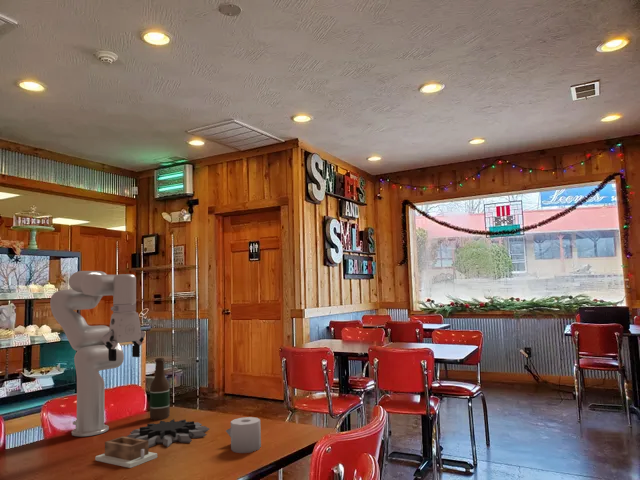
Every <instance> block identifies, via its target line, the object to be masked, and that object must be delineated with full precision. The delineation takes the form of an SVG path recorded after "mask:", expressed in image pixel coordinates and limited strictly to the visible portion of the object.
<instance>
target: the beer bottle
mask: <svg viewBox="0 0 640 480" xmlns="http://www.w3.org/2000/svg"><path fill="white" fill-rule="evenodd" d="M154 361H155V368H154V378H153V380H152V382H151V383H150V387H149V388H150V389H149V417H150V420H153V421H157V420H158V421H159V420H160V421H163V420H165V419H168V418H169V417H170V412H171V411H170V409H171V408H170V404H171V403H170V402H171V401H170V399H171V397H170V395H171V394H170V392H171V390H170V383H169V380H168V379H167V378H166V375H165V358H164V357H157V358H154Z"/></svg>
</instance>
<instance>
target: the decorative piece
mask: <svg viewBox="0 0 640 480" xmlns="http://www.w3.org/2000/svg"><path fill="white" fill-rule="evenodd" d="M146 425H147V426H140V427H139V428H137V429H133V430H132V431H130V432H129V434H128V435H126V436H125V437H130V438H136V439H141V440H147V441H148V449H149V448H153V447H154V446H155V447H156V445H157V444H163V446H165V447H166V448H169V447H170V446H171V445H172V443H176V442H180V443H183V444H184V443H187V444H189V443H191V442H192V441H193V440H192V439H199V438H204V437H205V436H207V435H208V434H207V433H206V432H208V431H209V430H210V429H211V428H210V427H208V426H205V425H203V424H202V423H200V422H198V421H197V422H195V421H193V420H192V421H187V419H186V418H185V419H181V420H178V421H175V419H174V418H173V419H170V421H164V420H160V421H159V423H147V424H146Z"/></svg>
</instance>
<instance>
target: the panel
mask: <svg viewBox="0 0 640 480" xmlns="http://www.w3.org/2000/svg"><path fill="white" fill-rule="evenodd" d="M157 458H158V453H157V452H151V451H148V455H145V456H144V449H141V457H140V458H137V459H134V460H132V461H130V460H125V459H120V458H115V457H110V456H106V455H105V452H104V453H102V454H99V455H96V456H95V461H97V462H101V463H105V464H110V465H115V466H121V467H123V468H129V469H131V468H135V467H136V466H137V467H138V466H139V465H143V464H144V463H146V462H149V461H152V460H156V459H157Z"/></svg>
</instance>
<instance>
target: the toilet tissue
mask: <svg viewBox="0 0 640 480" xmlns="http://www.w3.org/2000/svg"><path fill="white" fill-rule="evenodd" d="M261 431H262V429H261V419H260V418H258V417H254V416H248V417H247V416H246V417H238V418H235V419H232V420H231V421H230V428H228V429H225V432H226V433H227V435H228V436H229V437H230V450H231V451H232V452H233V453H237V454H238V453H239V454H247V453H248V454H250V453H253V451H254V452H257V451H259V450H260V449H261V448H262V432H261ZM260 447H261V448H260ZM256 450H257V451H256Z"/></svg>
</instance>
